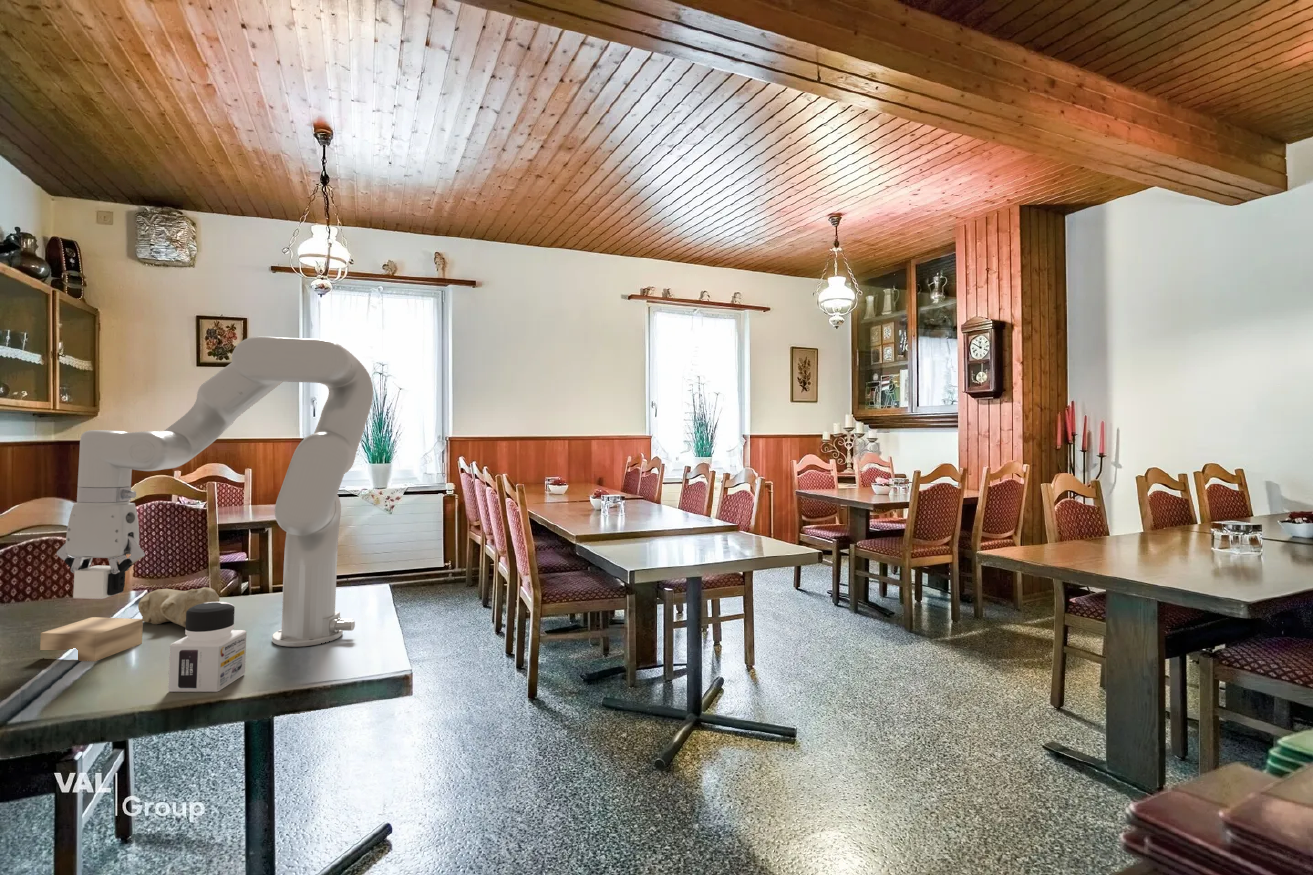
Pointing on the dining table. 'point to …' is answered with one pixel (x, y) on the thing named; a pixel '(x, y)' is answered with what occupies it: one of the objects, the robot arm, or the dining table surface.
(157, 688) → the dining table surface
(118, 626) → the oak block
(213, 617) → the container
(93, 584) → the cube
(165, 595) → the sculpture
